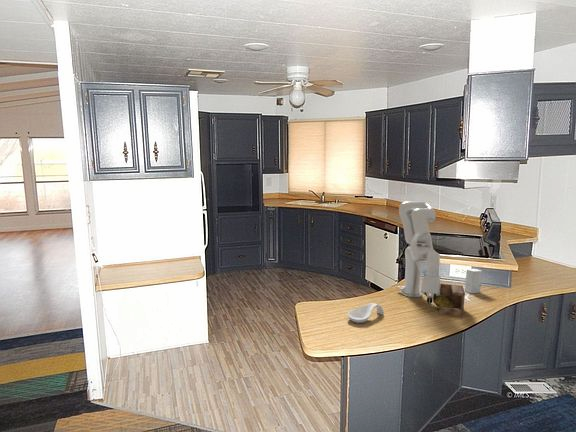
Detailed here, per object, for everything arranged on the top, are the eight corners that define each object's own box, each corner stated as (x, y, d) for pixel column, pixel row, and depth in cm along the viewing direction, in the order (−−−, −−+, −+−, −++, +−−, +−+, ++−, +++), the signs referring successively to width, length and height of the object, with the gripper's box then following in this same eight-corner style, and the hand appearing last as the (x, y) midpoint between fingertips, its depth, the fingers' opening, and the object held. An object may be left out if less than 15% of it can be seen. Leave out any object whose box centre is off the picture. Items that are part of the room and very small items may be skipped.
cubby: (439, 313, 237) (441, 290, 235) (438, 305, 251) (440, 283, 248) (462, 316, 233) (464, 293, 231) (460, 307, 247) (462, 285, 245)
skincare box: (471, 293, 271) (473, 271, 269) (464, 290, 277) (466, 269, 275) (480, 292, 275) (483, 270, 272) (473, 289, 280) (475, 268, 278)
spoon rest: (358, 327, 217) (359, 314, 216) (342, 319, 226) (343, 307, 225) (388, 317, 231) (389, 304, 230) (372, 310, 241) (372, 298, 239)
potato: (447, 314, 236) (448, 301, 235) (429, 306, 247) (430, 293, 246) (457, 312, 240) (458, 299, 238) (440, 304, 251) (441, 292, 250)
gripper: (418, 273, 241) (415, 304, 244) (445, 276, 236) (443, 307, 239) (418, 270, 248) (416, 299, 251) (445, 273, 243) (442, 303, 246)
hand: (429, 303), depth 245 cm, fingers closed
